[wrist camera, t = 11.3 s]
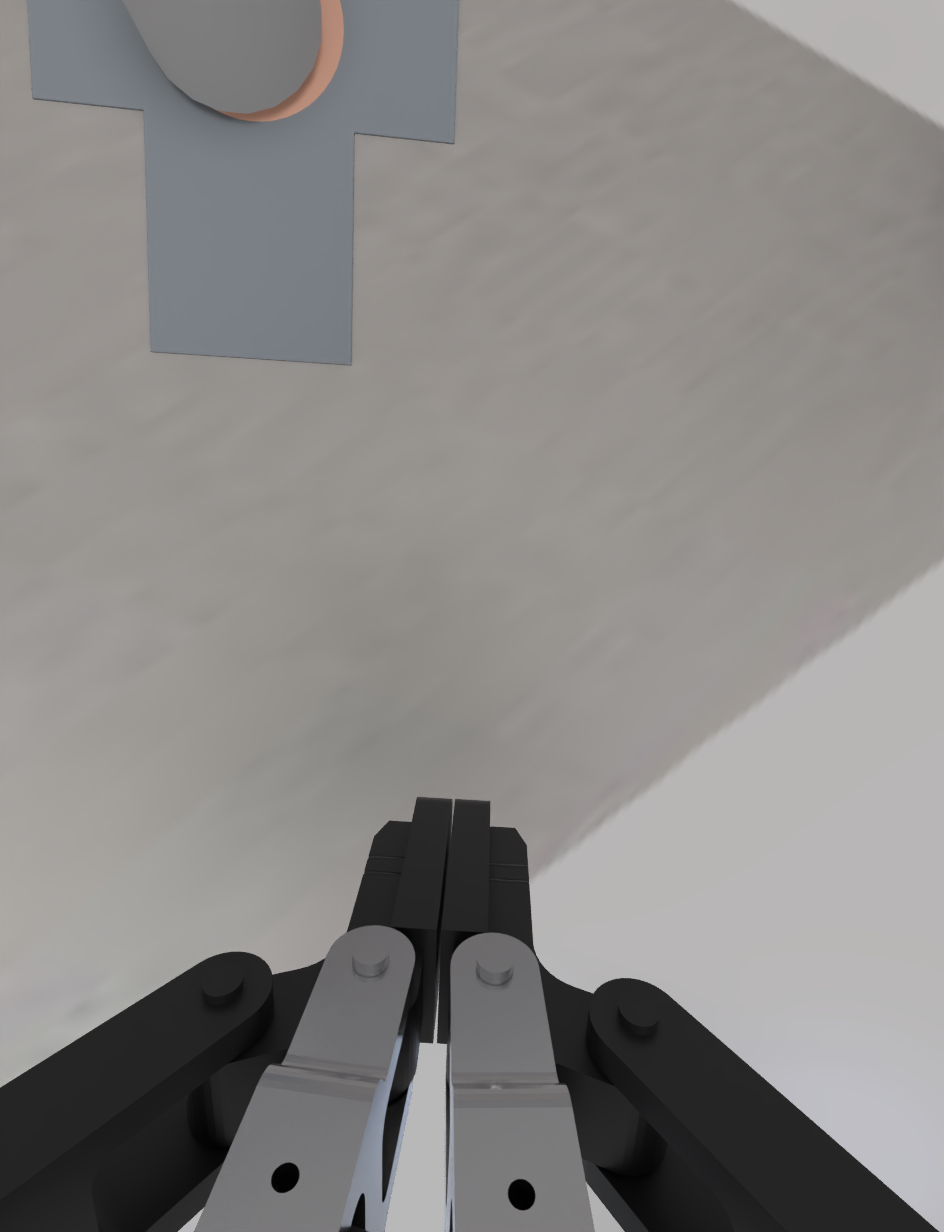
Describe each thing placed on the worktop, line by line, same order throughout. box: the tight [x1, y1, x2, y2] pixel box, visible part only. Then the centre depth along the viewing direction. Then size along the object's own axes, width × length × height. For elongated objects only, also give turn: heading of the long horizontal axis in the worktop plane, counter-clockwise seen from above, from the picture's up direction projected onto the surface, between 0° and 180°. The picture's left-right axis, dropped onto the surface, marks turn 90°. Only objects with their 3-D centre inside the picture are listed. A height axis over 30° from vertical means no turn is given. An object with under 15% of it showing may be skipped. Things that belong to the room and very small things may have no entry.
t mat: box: [27, 0, 459, 365], centre depth 29 cm, size 18×18×1 cm
